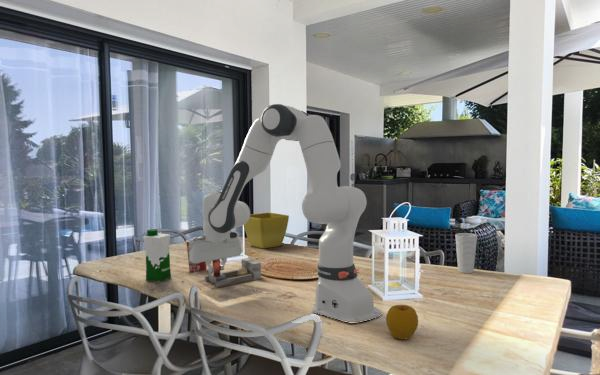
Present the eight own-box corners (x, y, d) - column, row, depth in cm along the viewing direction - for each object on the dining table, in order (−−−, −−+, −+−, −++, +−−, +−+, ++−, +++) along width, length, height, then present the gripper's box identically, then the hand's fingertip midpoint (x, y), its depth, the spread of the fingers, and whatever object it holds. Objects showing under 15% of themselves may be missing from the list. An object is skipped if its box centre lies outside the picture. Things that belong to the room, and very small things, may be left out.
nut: (249, 277, 171) (249, 267, 171) (240, 279, 169) (240, 269, 169) (244, 275, 175) (244, 265, 174) (235, 277, 172) (235, 267, 172)
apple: (403, 347, 111) (403, 314, 110) (378, 336, 118) (378, 305, 117) (424, 339, 116) (424, 306, 115) (400, 329, 123) (400, 298, 122)
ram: (225, 283, 164) (225, 259, 163) (216, 285, 161) (215, 261, 161) (217, 279, 169) (216, 256, 169) (208, 281, 167) (207, 258, 166)
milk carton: (156, 275, 183) (154, 228, 181) (174, 276, 180) (172, 228, 179) (142, 280, 175) (140, 231, 173) (161, 282, 172) (159, 232, 170)
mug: (182, 271, 188) (181, 240, 187) (199, 266, 195) (198, 237, 194) (201, 276, 181) (200, 243, 180) (218, 271, 188) (217, 240, 187)
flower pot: (269, 240, 252) (269, 212, 251) (290, 245, 238) (289, 215, 237) (242, 245, 240) (241, 215, 239) (261, 251, 226) (261, 219, 224)
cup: (455, 273, 178) (455, 236, 176) (454, 268, 186) (454, 232, 185) (477, 275, 175) (478, 237, 174) (475, 269, 183) (476, 233, 182)
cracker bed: (264, 282, 170) (264, 263, 169) (212, 293, 157) (212, 273, 156) (247, 274, 181) (246, 257, 181) (197, 284, 168) (196, 265, 168)
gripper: (192, 239, 155) (193, 277, 156) (243, 232, 167) (243, 268, 168) (185, 237, 160) (187, 273, 161) (235, 230, 172) (236, 264, 173)
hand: (216, 270), depth 165 cm, fingers closed on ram, 3 cm apart
